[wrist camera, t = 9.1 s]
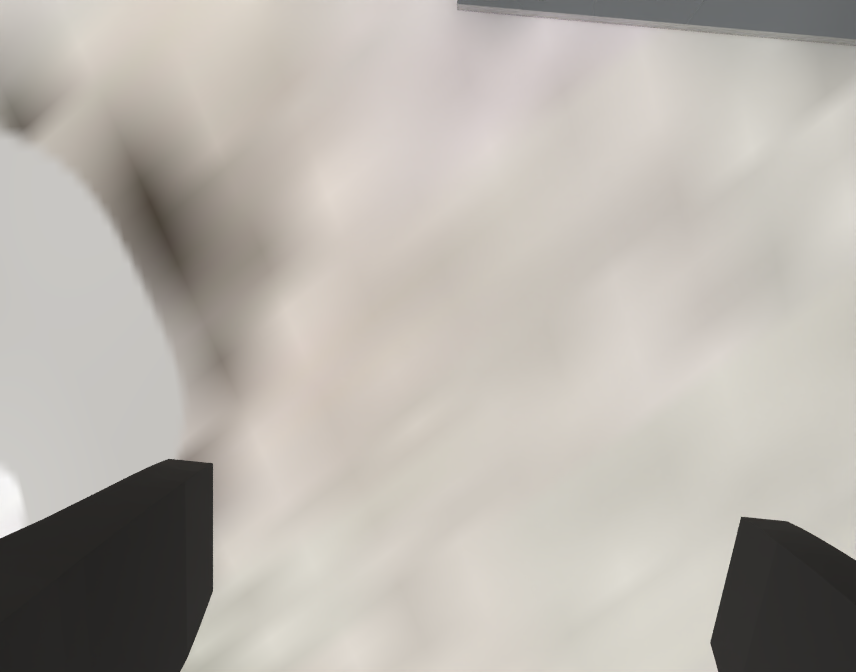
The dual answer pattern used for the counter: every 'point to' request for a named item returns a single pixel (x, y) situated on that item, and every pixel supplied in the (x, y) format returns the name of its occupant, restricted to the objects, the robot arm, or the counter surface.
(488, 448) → the counter surface
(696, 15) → the grey slotted socket block
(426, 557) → the counter surface
